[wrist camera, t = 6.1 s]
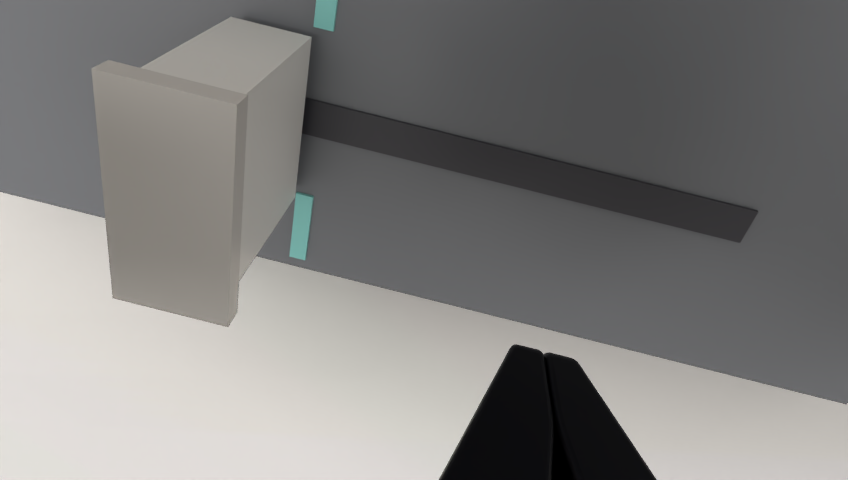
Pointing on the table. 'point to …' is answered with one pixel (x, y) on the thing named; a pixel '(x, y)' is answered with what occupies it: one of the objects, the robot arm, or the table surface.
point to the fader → (199, 163)
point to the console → (524, 159)
